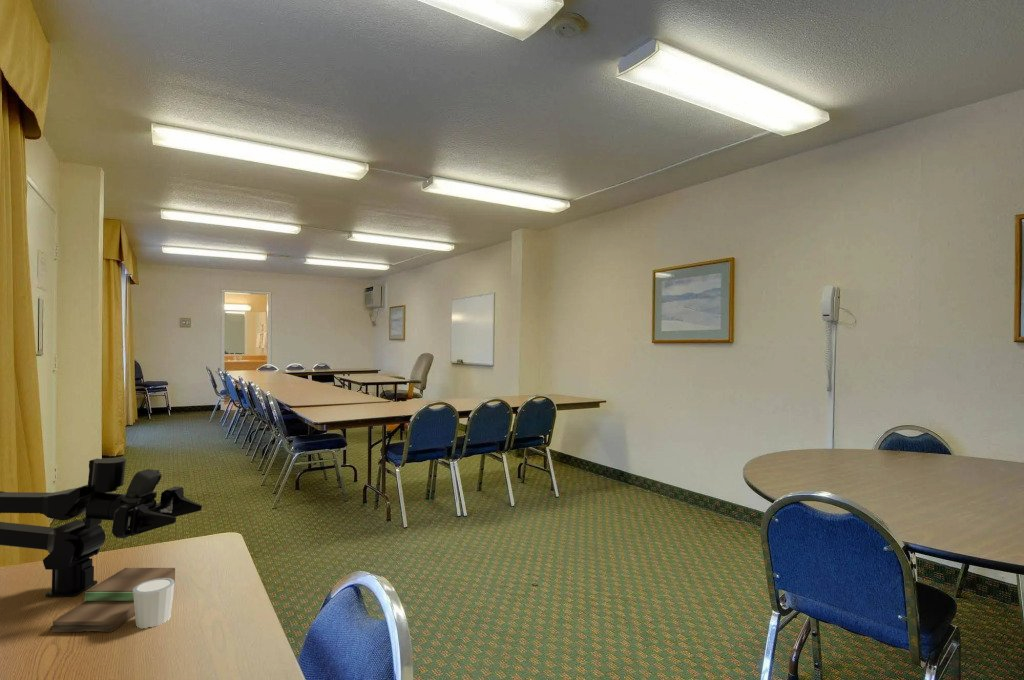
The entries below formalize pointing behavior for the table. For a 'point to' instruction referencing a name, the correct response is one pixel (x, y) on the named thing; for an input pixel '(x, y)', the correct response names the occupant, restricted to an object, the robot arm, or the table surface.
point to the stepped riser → (109, 601)
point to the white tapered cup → (153, 602)
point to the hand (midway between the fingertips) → (189, 513)
